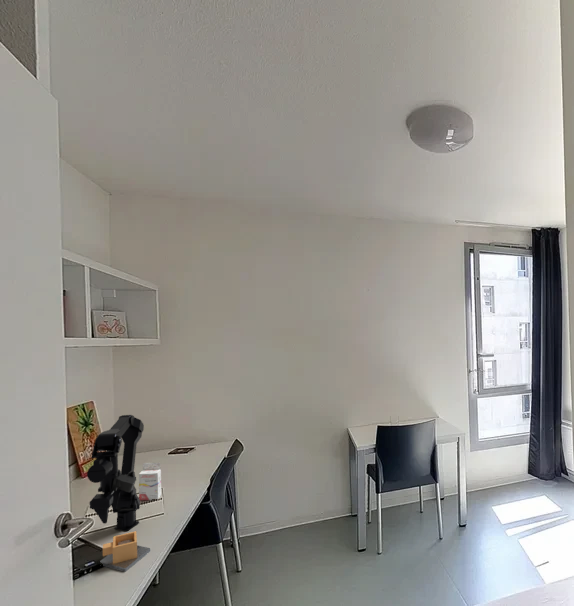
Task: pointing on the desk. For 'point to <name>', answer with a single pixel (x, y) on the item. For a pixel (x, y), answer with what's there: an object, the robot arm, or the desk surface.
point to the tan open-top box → (122, 547)
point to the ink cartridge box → (150, 482)
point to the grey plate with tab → (128, 563)
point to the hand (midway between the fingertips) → (110, 516)
